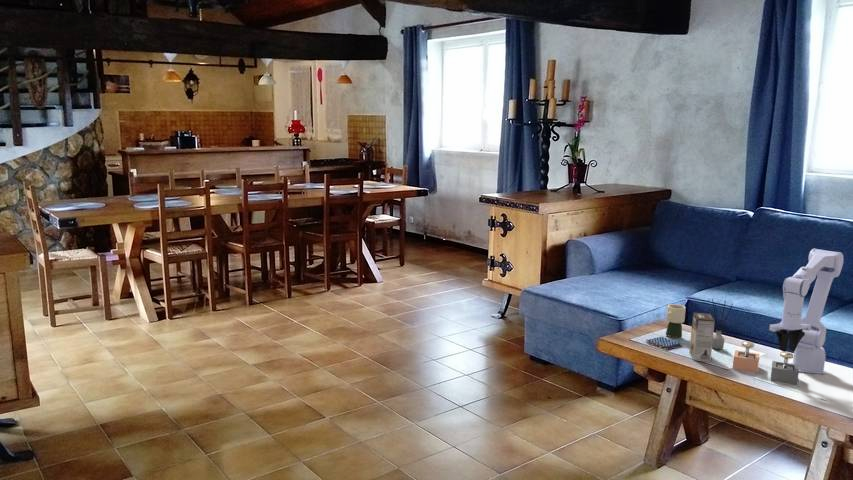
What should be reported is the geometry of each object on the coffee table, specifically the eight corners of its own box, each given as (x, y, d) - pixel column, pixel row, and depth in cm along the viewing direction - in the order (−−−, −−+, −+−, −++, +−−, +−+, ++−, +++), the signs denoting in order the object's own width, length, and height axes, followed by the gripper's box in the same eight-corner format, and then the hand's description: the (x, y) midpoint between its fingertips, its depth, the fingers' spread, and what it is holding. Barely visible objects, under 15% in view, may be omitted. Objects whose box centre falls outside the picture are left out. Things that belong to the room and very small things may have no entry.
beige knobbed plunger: (792, 368, 232) (794, 353, 231) (792, 372, 227) (794, 357, 227) (777, 365, 234) (779, 350, 233) (777, 369, 230) (779, 354, 229)
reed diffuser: (731, 350, 260) (736, 301, 257) (721, 354, 256) (727, 303, 253) (706, 343, 268) (711, 295, 265) (697, 346, 264) (702, 297, 261)
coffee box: (688, 352, 257) (692, 312, 254) (706, 354, 256) (710, 313, 253) (692, 360, 248) (697, 318, 245) (711, 362, 247) (715, 320, 244)
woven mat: (661, 340, 272) (661, 335, 272) (683, 347, 264) (683, 342, 263) (643, 344, 267) (644, 339, 267) (666, 351, 258) (666, 346, 258)
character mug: (674, 332, 282) (676, 302, 280) (689, 337, 276) (692, 306, 274) (658, 336, 276) (661, 305, 273) (673, 341, 270) (676, 310, 268)
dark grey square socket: (796, 378, 233) (798, 365, 232) (797, 385, 226) (798, 372, 225) (770, 373, 237) (772, 360, 236) (770, 380, 230) (772, 367, 229)
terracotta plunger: (754, 357, 242) (755, 342, 241) (753, 360, 238) (755, 346, 237) (739, 354, 244) (741, 340, 243) (738, 358, 240) (740, 343, 239)
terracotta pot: (757, 366, 243) (759, 354, 243) (757, 373, 236) (758, 360, 236) (733, 362, 247) (735, 350, 246) (732, 368, 240) (734, 356, 239)
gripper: (802, 308, 232) (797, 346, 235) (765, 309, 230) (760, 347, 232) (817, 314, 226) (812, 353, 228) (779, 315, 223) (774, 354, 225)
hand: (787, 350), depth 230 cm, fingers open, 3 cm apart
